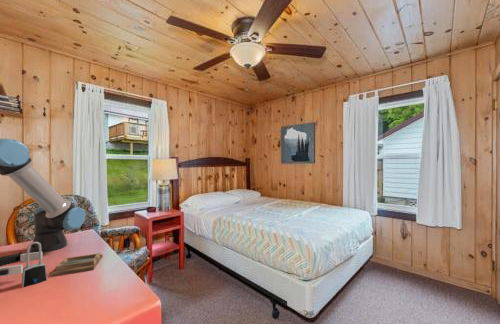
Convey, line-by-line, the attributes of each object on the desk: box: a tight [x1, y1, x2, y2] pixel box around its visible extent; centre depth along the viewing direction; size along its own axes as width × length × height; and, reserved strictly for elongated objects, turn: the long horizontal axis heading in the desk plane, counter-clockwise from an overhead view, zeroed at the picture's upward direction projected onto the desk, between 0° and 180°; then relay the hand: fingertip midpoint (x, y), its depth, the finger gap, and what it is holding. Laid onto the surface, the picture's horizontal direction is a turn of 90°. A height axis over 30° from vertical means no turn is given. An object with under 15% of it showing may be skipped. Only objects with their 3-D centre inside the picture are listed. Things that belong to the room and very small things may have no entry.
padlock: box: [20, 241, 48, 288], centre depth 86 cm, size 7×4×15 cm, turn 140°
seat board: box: [51, 252, 103, 278], centre depth 99 cm, size 15×14×3 cm
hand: (32, 261), depth 85 cm, fingers open, 13 cm apart
